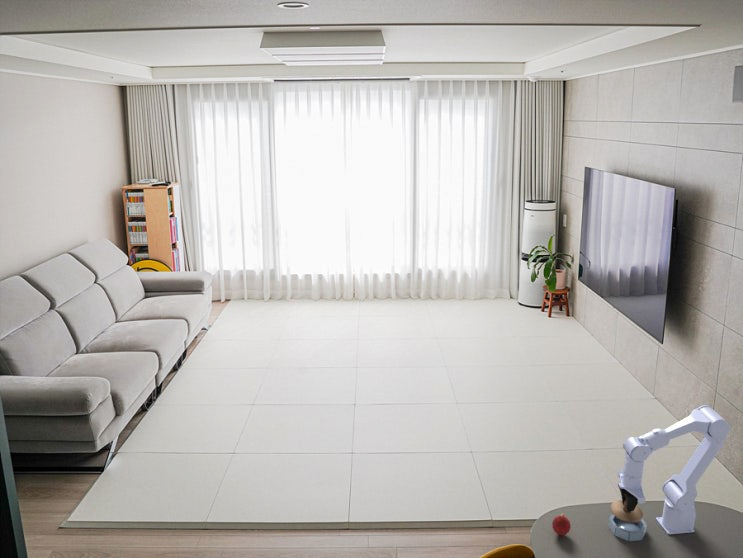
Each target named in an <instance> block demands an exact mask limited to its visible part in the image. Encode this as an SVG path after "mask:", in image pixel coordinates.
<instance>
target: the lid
mask: <svg viewBox="0 0 743 558" xmlns="http://www.w3.org/2000/svg"><path fill="white" fill-rule="evenodd" d="M610 512H611V513H612V514H614V515H615V516H616V517H617V518H619V519H621V520H623V521H627V522H638V521H640V520H641V519H643V516H644V513H643V510H642V509H641V508H640V506H638V505H636V507H635V509H634V511H628V510H627V500H626V499H625V502H624V505H623V503H622V499H620V500H619V499H618V500H615V501H613V502H612V503H611V505H610Z"/></svg>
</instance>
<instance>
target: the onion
mask: <svg viewBox="0 0 743 558" xmlns="http://www.w3.org/2000/svg"><path fill="white" fill-rule="evenodd" d="M551 524H552V525H551V526H552V529H553V531H554V533H556V534H557V535H559V536H565V535H567V534H568V533H569V532H570V531H571V522H570V520H569V518H568V517H566V516H565V514H564V513H561V514H560V515H558V516H556V517H554V519H553V520H552V523H551Z"/></svg>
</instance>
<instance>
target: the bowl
mask: <svg viewBox="0 0 743 558" xmlns="http://www.w3.org/2000/svg"><path fill="white" fill-rule="evenodd" d="M647 527H648V525H647V523H646V522H645V520H644V518H642V519H641V520H640V521H638V522H627V521H623V520H621V519H619V518H617V517H616V516H615V515H614V514H613V513H612V514H610V516H609V520H608V528H609V529H610V531H611V532H612V534H613V535H614V536H615V537H618V538H619V539H622V540H625V541H626V542H634V541H635V542H636V541H642V540H643V539H644V537H645V535H646V534H647Z"/></svg>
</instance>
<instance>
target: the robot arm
mask: <svg viewBox="0 0 743 558" xmlns="http://www.w3.org/2000/svg"><path fill="white" fill-rule="evenodd" d="M731 430H732V429H731V427H730V425H729V422H728V421H727V420H725V419H724V418H723V417H722V416H721V415H720V414H719V413H717V412H716V411H715V410H714V409H713V407H711V406H710V405H708V404H705V405H700V406H699V407H697V408H694V409H692V411H691V412H690V414H689V416H687V417H684V418H683V419H680V421H677V422H675V423H674V424H672V425H670V426H668V427H666V428H665V429H662V428H658V427H657V428H654V429H652V430H651V431H649V432H647V433H645V434H642V435H640V436H638V437H636V436H630V437H628V438H626V439H625V441H624V443H623V444H622V447H623V450H625V454H624V456H625V457H624V465H623V470H618V471H617V477H618V478H619V481H620V482H619V483H618V484H617V487H618V489H619V492H620V495H621V500H622V503H623V505H624V502H625V499H626V500H627V510H628V511H634V509H635V507H636V506H638V504H645V503H646V497H645V495H644V491H643V487H642V479H643V473H644V472H643V471H644V466H645V461H646V460H647V459H648V458H649V457H650V455H652V454H653V452H655V451H657V450H659V449H662V448H664V447H666V446H668V445H669V443H670V441H671V440H672V439H675V438H679V437H680V436H685V435H686V434H690V433H692V432H697V433H699V434H702V435H704V437H703V439H702V440H701V441H700V443H699V445H698V446H697V448H696V449H695V451H694V452H693V454H692V456H690V458H689V460H688V461H687V462H686V464H685V466H684V467H683V468H682V470H681V472H680V473H679V474H672V475H671V477H669V479H667V480H666V481H664V483H663V484H662V488H661V490H662V492H663V493H664V503H663V510H662V514H661V515H662V516H660V517H655V520H656V521H657V522H658V524H659V525H660V526H661V528H662V529H663V530H664V531H665V533H666V534H667V535H677V534H686V533H687V534H689V533H695V529H694V526H695V521H696V517H697V513H696V512H697V511H696V508H695V500H696V499H697V496H698V493H697V492H698V491H697V485H698V482H699V480H700V479H701V478H702V477H703V476H704V474H705V472H706V470H707V469H708V468H709V466H710V464H711V463H712V462H713V460H714V459H715V458H716V455H717V454H718V453H719V451H720V450H721V449H722V447H723V446H724V444H725V443H726V439H727V436H728V434H729V433H730V432H731Z"/></svg>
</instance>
